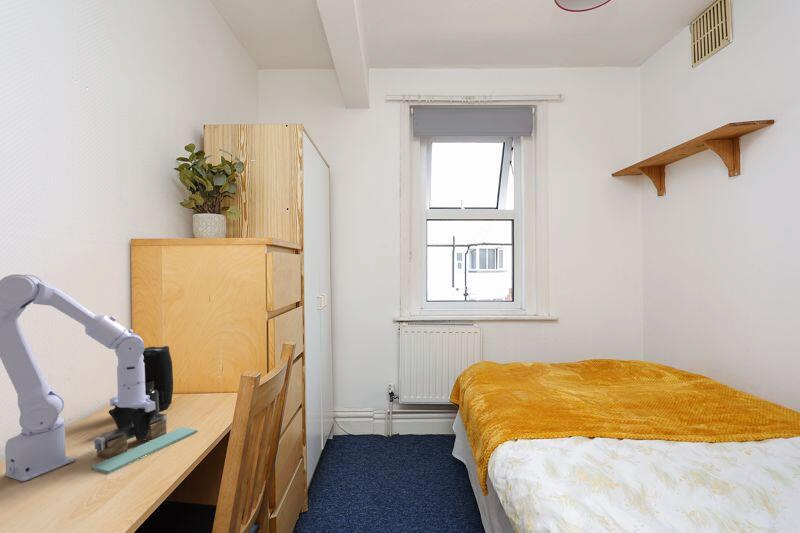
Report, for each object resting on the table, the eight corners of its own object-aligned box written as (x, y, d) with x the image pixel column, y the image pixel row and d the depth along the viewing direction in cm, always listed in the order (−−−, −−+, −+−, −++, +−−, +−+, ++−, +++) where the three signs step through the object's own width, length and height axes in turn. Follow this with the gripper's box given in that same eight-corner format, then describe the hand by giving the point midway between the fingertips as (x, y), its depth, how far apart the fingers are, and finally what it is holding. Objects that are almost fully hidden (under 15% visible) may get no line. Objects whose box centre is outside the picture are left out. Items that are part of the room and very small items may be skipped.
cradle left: (109, 460, 89) (109, 442, 89) (97, 456, 91) (96, 440, 91) (127, 452, 93) (126, 435, 93) (114, 449, 95) (114, 433, 95)
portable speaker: (139, 408, 124) (137, 348, 124) (173, 402, 129) (171, 343, 129) (139, 416, 117) (137, 352, 117) (174, 409, 122) (172, 347, 122)
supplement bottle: (164, 418, 115) (163, 378, 115) (147, 427, 108) (146, 385, 108) (143, 418, 115) (142, 378, 115) (125, 427, 109) (123, 385, 109)
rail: (101, 450, 89) (101, 439, 89) (94, 449, 90) (94, 438, 90) (166, 423, 104) (166, 414, 104) (160, 422, 105) (160, 413, 105)
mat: (108, 473, 83) (108, 470, 83) (91, 469, 86) (91, 466, 86) (197, 432, 104) (197, 429, 104) (181, 429, 106) (181, 427, 106)
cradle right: (151, 441, 99) (151, 425, 99) (139, 438, 101) (138, 423, 101) (166, 435, 102) (165, 420, 102) (154, 432, 104) (153, 417, 104)
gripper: (166, 380, 98) (168, 433, 98) (129, 376, 103) (131, 426, 103) (138, 388, 91) (140, 446, 91) (100, 383, 97) (102, 437, 97)
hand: (133, 436), depth 97 cm, fingers open, 6 cm apart
